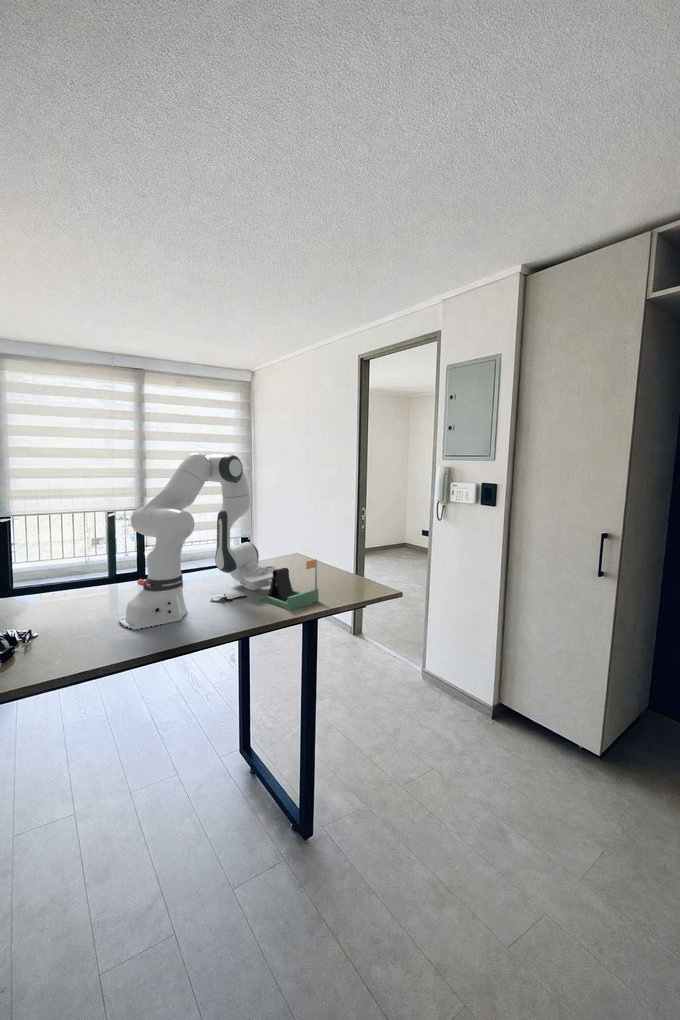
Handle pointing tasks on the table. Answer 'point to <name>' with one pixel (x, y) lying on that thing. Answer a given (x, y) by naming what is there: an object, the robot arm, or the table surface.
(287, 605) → the putting pocket
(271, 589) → the door stopper
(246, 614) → the table surface
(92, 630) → the table surface
